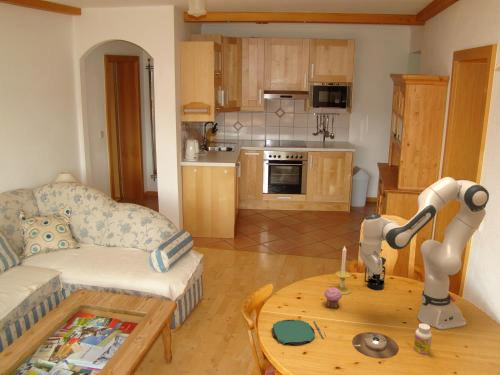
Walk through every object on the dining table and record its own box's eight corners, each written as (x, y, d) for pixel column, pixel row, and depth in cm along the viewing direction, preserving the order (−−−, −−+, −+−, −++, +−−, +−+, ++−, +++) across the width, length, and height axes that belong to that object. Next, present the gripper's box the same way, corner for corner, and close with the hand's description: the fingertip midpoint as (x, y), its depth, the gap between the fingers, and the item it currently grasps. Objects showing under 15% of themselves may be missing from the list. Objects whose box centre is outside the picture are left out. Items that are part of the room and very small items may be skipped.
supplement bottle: (410, 352, 199) (413, 326, 196) (417, 346, 204) (420, 320, 200) (425, 359, 194) (428, 332, 191) (432, 352, 199) (435, 326, 196)
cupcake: (323, 309, 235) (324, 291, 232) (324, 301, 243) (324, 284, 240) (341, 310, 233) (342, 293, 231) (341, 302, 241) (342, 285, 239)
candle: (330, 286, 259) (332, 242, 253) (346, 285, 261) (349, 241, 254) (336, 295, 250) (339, 249, 243) (353, 293, 251) (357, 248, 245)
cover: (382, 339, 206) (382, 333, 205) (389, 351, 197) (389, 344, 196) (362, 339, 205) (362, 333, 205) (368, 351, 197) (369, 345, 196)
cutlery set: (268, 324, 220) (268, 319, 220) (327, 320, 225) (327, 316, 225) (276, 348, 201) (277, 344, 201) (341, 343, 206) (342, 339, 206)
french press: (383, 283, 264) (386, 246, 259) (387, 290, 255) (390, 252, 249) (362, 282, 265) (365, 245, 259) (365, 290, 256) (368, 251, 250)
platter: (388, 333, 212) (388, 331, 212) (406, 359, 193) (406, 357, 193) (346, 334, 211) (346, 333, 210) (360, 361, 191) (360, 359, 191)
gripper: (386, 256, 205) (385, 284, 208) (370, 239, 225) (368, 265, 228) (373, 257, 204) (371, 285, 208) (357, 240, 224) (356, 266, 227)
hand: (370, 274), depth 218 cm, fingers closed
